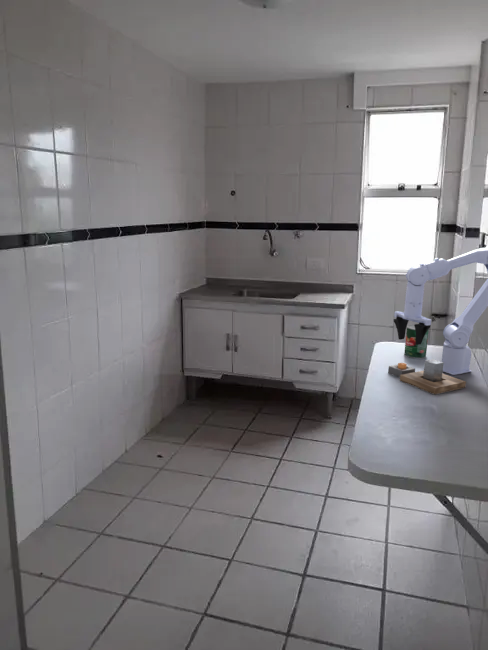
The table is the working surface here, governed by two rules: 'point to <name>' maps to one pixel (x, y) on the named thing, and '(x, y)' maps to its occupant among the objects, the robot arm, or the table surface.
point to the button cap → (402, 365)
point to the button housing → (400, 370)
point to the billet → (433, 370)
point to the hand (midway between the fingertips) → (409, 341)
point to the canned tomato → (411, 347)
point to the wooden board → (432, 383)
